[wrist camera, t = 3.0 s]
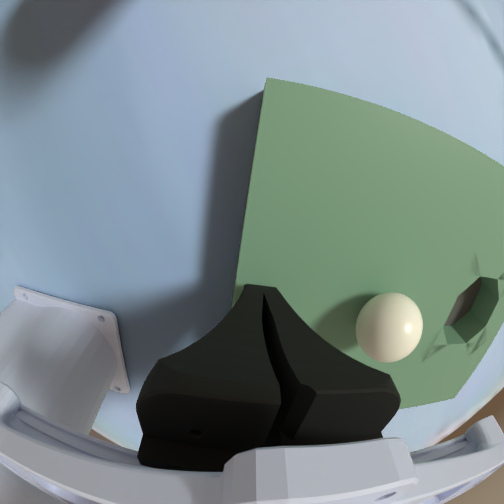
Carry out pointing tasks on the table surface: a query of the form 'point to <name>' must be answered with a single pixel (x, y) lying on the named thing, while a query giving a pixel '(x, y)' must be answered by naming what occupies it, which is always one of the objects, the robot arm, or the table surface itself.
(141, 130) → the table surface
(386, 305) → the ball
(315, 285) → the putting board
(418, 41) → the table surface
